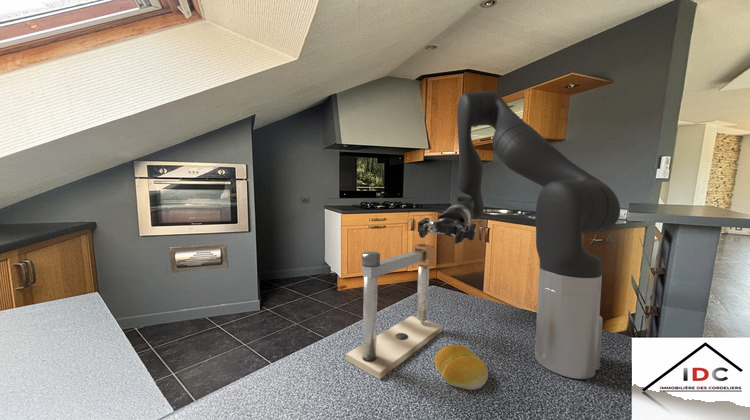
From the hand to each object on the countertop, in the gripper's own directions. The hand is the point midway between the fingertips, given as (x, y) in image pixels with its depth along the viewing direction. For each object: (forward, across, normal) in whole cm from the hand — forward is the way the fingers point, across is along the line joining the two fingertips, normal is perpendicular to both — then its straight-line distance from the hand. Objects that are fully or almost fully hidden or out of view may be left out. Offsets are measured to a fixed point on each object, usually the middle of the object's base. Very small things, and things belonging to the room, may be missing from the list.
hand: (438, 236), depth 68 cm
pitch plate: (+19, -2, +18) cm, 26 cm away
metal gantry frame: (+17, -2, +17) cm, 24 cm away
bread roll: (+21, +11, +17) cm, 29 cm away
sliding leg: (+9, 0, +17) cm, 20 cm away
